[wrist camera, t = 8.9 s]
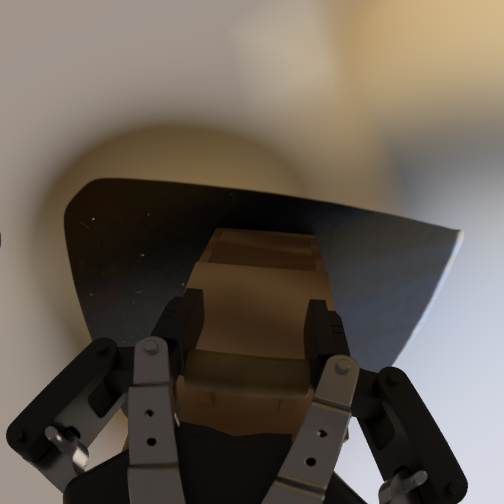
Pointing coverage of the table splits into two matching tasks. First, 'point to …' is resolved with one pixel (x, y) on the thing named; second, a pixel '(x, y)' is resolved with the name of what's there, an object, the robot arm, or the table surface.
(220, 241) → the chest
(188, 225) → the table surface
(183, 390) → the lid
